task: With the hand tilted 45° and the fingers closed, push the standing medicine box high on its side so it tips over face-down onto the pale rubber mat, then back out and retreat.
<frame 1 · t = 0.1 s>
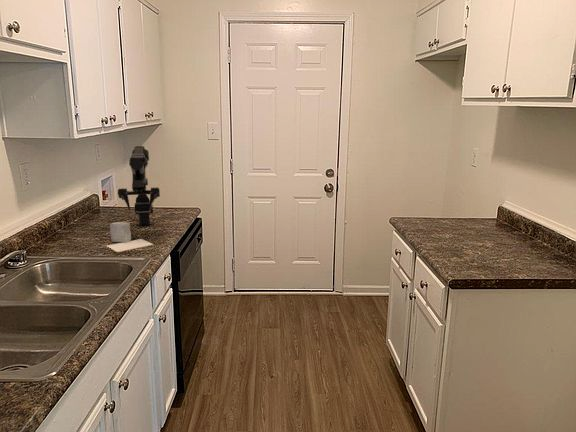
hand: (139, 209, 218), 15 cm above the counter, tool tilted 35°, fingers open, 9 cm apart
medicine box: (121, 241, 219), on the counter, touching pale rubber mat
pale rubber mat: (129, 245, 213), on the counter
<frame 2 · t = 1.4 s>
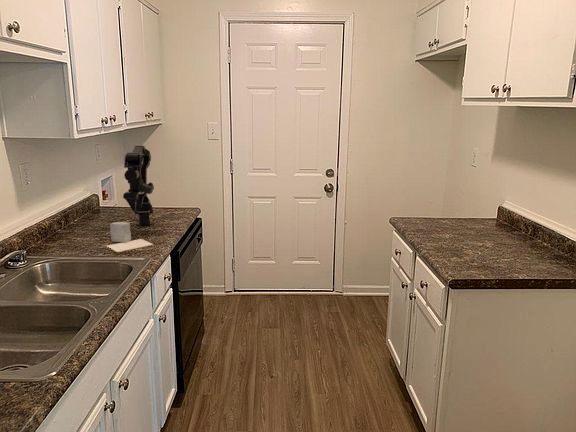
hand: (137, 209, 232), 12 cm above the counter, tool pointing down, fingers open, 8 cm apart
nothing on the counter moved.
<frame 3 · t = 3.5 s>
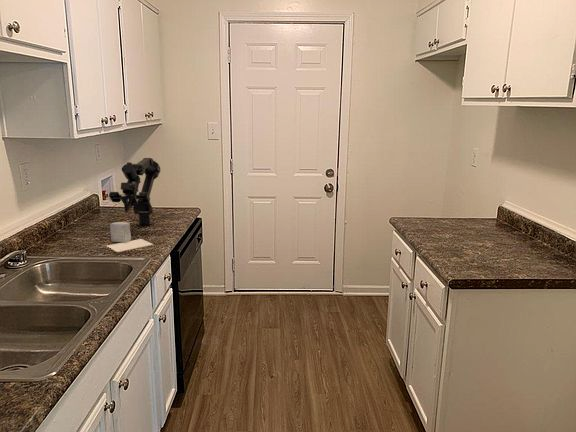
hand: (126, 211, 225), 13 cm above the counter, tool tilted 45°, fingers closed
nothing on the counter moved.
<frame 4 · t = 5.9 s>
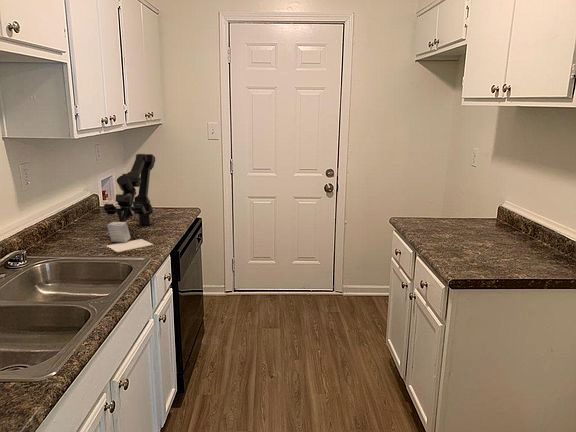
hand: (120, 224, 218), 8 cm above the counter, tool tilted 45°, fingers closed
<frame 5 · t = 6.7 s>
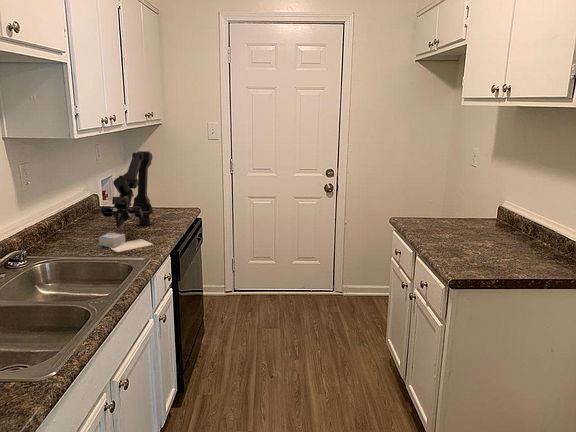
hand: (117, 227, 215), 8 cm above the counter, tool tilted 45°, fingers closed
medicine box: (118, 237, 217), point 2 cm above the counter, touching pale rubber mat
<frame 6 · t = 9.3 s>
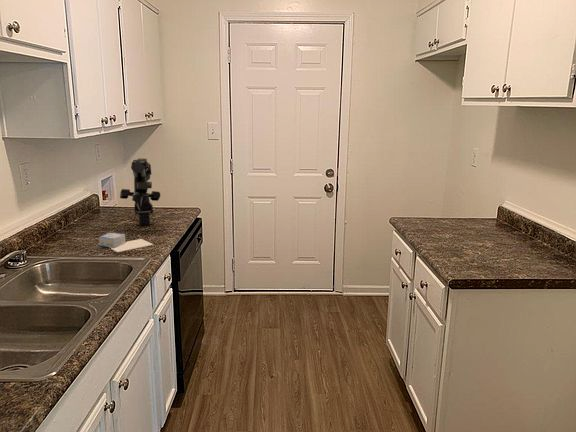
hand: (140, 210, 230), 12 cm above the counter, tool tilted 35°, fingers closed
nothing on the counter moved.
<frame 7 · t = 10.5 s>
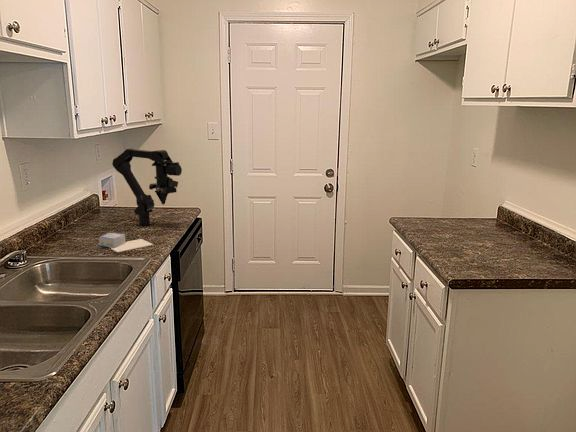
hand: (163, 204, 244), 12 cm above the counter, tool pointing down, fingers closed
nothing on the counter moved.
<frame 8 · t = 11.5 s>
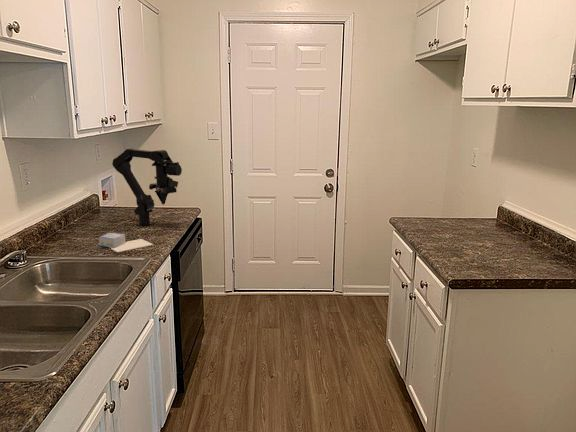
hand: (163, 204, 244), 12 cm above the counter, tool pointing down, fingers closed
nothing on the counter moved.
at the end: medicine box tilted 89°; medicine box inside the target area (5.9 cm from its centre), point 2.4 cm above the counter; medicine box touching pale rubber mat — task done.
